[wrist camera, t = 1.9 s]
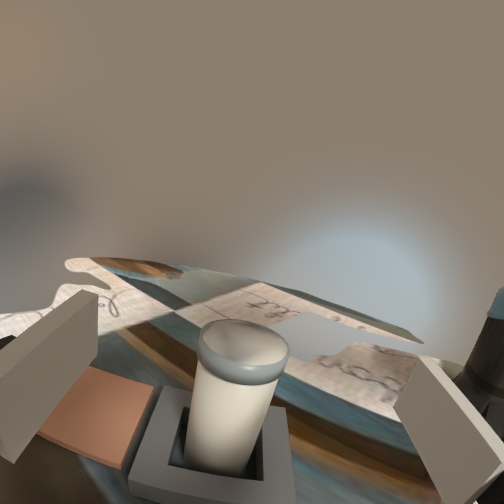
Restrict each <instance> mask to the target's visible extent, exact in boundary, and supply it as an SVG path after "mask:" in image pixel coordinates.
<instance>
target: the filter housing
mask: <svg viewBox="0 0 504 504" xmlns="http://www.w3.org/2000/svg"><path fill="white" fill-rule="evenodd" d="M192 395H193V392H192V391H188V390H183V389H179V388H175V387H171V386H167V385H164V386H163V389H162V391H161V394H160V396H159V399H158V401H157V404H156V406H155V409H154V411H153V414H152V416H151V419H150V421H149V424H148V426H147V429H146V431H145V434H144V437H143V439H142V442H141V444H140V447H139V449H138V452H137V455H136V457H135V460H134V463H133V465H132V468H131V470H130V473H129V476H128V478H127V480H128V488H129V495H132V496H136V497H139V498H142V499H146V500H150V501H153V502H157V503H161V504H297V499H296V491H295V482H294V474H293V466H292V458H291V450H290V441H289V433H288V425H287V418H286V410H285V408H283V407H275V406H269V407H268V410H267V413H266V416H265V418H264V421H263V424H262V427H261V429H260V432H259V435H258V438H257V440H256V480H247V479H239V478H232V477H225V476H219V475H213V474H208V473H202V472H197V471H192V470H188V469H183V468H179V467H174V466H170V464H171V461H172V457H173V453H174V449H175V446H176V442H177V438H178V435H179V431H180V427H181V424H182V425H186V426H188V421H189V414H190V408H191V401H192Z"/></svg>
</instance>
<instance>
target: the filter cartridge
mask: <svg viewBox="0 0 504 504" xmlns="http://www.w3.org/2000/svg"><path fill="white" fill-rule="evenodd" d="M289 353H290V350H289V346H288V344H287V342H286V341H285V340H284V339H283V338H282V337H281V336H280V335H279V334H277V333H276V332H274V331H273V330H271V329H269V328H267V327H264V326H262V325H259V324H256V323H252V322H248V321H243V320H235V319H223V320H216V321H212V322H210V323H208V324H206V325H205V326H204V327H203V328H202V329H201V331H200V336H199V342H198V348H197V357H198V364H197V370H196V376H195V382H194V388H193V395H192V401H191V408H190V414H189V421H188V427H187V434H186V441H185V448H184V455H183V458H184V463H185V465H186V467H187V469H188V470H192V471H197V472H202V473H208V474H213V475H219V476H225V477H232V478H239V477H240V476H241V475H242V474H243V473H244V471H245V469H246V466H247V464H248V461H249V459H250V456H251V453H252V451H253V448H254V446H255V443H256V440H257V438H258V435H259V432H260V429H261V427H262V424H263V421H264V418H265V416H266V413H267V410H268V407H269V404H270V402H271V399H272V396H273V393H274V390H275V387H276V384H277V381H278V378H279V377H280V376H281V375H282V374H283V372H284V369H285V366H286V363H287V360H288V357H289Z"/></svg>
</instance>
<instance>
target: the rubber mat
mask: <svg viewBox="0 0 504 504" xmlns="http://www.w3.org/2000/svg"><path fill="white" fill-rule="evenodd" d="M153 393H154V386H151V385H147V384H144V383H140V382H137V381H133V380H130V379H127V378H124V377H121V376H117V375H114V374H111V373H108V372H105V371H102V370H100V369H97V368H94V367H91V366H88V367H87V368H86V369H85V370H84V372H83V373H82V374H81V375H80V377H79V378H78V379H77V380H76V382H75V383H74V384H73V385H72V387H71V388H70V389H69V391H68V392H67V393H66V394H65V396H64V397H63V398H62V399H61V401H60V402H59V403H58V405H57V406H56V407H55V409H54V410H53V411H52V412H51V414H50V415H49V416H48V418H47V419H46V420H45V422H44V423H43V424H42V426H41V427H40V428H39V430H38V431H37V432H36V434H37V435H39V436H41V437H43V438H45V439H47V440H49V441H51V442H53V443H55V444H57V445H59V446H61V447H63V448H66V449H68V450H70V451H72V452H75V453H77V454H79V455H82V456H84V457H86V458H89V459H91V460H94V461H97V462H99V463H102V464H104V465H107V466H110V467H113V468H116V469H119V470H121V469H122V467H123V464H124V462H125V459H126V457H127V454H128V452H129V450H130V447H131V445H132V442H133V440H134V438H135V435H136V433H137V430H138V428H139V426H140V423H141V421H142V419H143V416H144V414H145V412H146V409H147V407H148V405H149V402H150V400H151V398H152V395H153Z"/></svg>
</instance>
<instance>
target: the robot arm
mask: <svg viewBox="0 0 504 504" xmlns="http://www.w3.org/2000/svg"><path fill="white" fill-rule="evenodd" d="M487 316H488V317H487V319H486V322H485V324H484V326H483V329H482V331H481V334H480V335H479V338H478V340H477V342H476V344H475V346H474V348H473V351H472V352H471V354H470V356H469V359H468V361H467V363H466V365H465V367H464V368H463V370H462V371H461V372H460V373H459V374H458V375H457V376H456V377H455V378H454V380H453V381H451V380H450V378H449V377H448V376H447V375H446V374H445V373H444V372H443V370H442V369H441V368H440V367H439V366H438V365H437V364H436V363H435V362H434V360H433V359H432V358H421V357H419V358H418V360H417V362H416V364H415V366H414V368H413V370H412V372H411V374H410V376H409V378H408V380H407V382H406V384H405V386H404V388H403V390H402V392H401V393H400V395H399V397H398V399H397V401H396V402H395V404H394V406H393V408H394V410H395V411H396V413H397V415H398V417H399V419H400V420H401V422H402V424H403V426H404V428H405V429H406V431H407V433H408V435H409V437H410V439H411V440H412V442H413V444H414V446H415V448H416V450H417V452H418V454H419V455H420V457H421V459H422V461H423V463H424V465H425V467H426V469H427V471H428V473H429V474H430V476H431V478H432V480H433V482H434V484H435V486H436V488H437V490H438V492H439V494H440V496H441V498H442V500H443V502H444V504H473V503H474V502H475V501H477V503H478V504H504V442H503V441H502V438H503V437H504V287H502V288H501V289H499V291H498V292H497V294H496V296H495V299H494V301H493V303H492V306H491V308H490V310H489V311H488V312H487ZM97 354H98V294H95V293H92V292H89V291H85V290H80V291H79V292H78V293H76V294H75V295H73V296H72V297H70V298H69V299H68V300H66V301H65V302H63V303H62V304H61V305H59V306H58V307H56V308H55V309H54V310H52V311H51V312H50V313H48V314H47V315H46V316H44V317H43V318H41V319H40V320H39V321H37V322H36V323H35V324H33V325H32V326H31V327H29V328H28V329H27V330H25V331H24V332H23V333H22V334H20V335H19V336H18V337H15V336H13V335H10V336H7V337H4V338H1V339H0V456H2V457H3V458H5V459H6V460H8V461H10V462H11V463H13V464H14V463H15V462H16V460H17V459H18V457H19V456H20V455H21V453H22V452H23V450H24V449H25V448H26V446H27V445H28V443H29V442H30V441H31V439H32V438H33V437H34V435H35V434H36V432H37V431H38V430H39V428H40V427H41V426H42V424H43V423H44V422H45V420H46V419H47V418H48V416H49V415H50V414H51V412H52V411H53V410H54V409H55V407H56V406H57V405H58V403H59V402H60V401H61V399H62V398H63V397H64V396H65V394H66V393H67V392H68V391H69V389H70V388H71V387H72V385H73V384H74V383H75V382H76V380H77V379H78V378H79V377H80V375H81V374H82V373H83V372H84V370H85V369H86V368H87V367H88V365H89V364H90V363H91V362H92V361H93V359H94V358H95V357H96V356H97Z"/></svg>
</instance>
